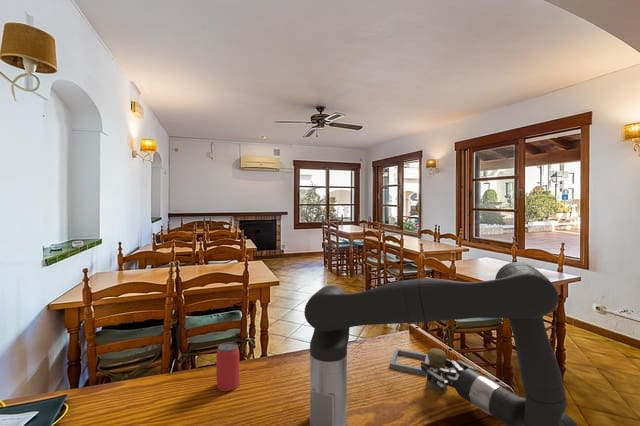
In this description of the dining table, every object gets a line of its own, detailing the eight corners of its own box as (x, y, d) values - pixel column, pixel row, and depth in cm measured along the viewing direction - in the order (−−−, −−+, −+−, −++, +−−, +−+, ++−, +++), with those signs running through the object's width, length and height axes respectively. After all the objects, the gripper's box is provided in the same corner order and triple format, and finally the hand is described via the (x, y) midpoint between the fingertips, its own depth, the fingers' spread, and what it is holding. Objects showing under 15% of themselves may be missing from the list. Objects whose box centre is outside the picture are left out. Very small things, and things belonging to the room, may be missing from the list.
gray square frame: (426, 375, 98) (426, 370, 98) (389, 367, 103) (389, 363, 103) (429, 358, 109) (429, 354, 109) (395, 352, 114) (396, 348, 113)
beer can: (211, 388, 92) (211, 348, 91) (227, 377, 97) (227, 339, 97) (228, 395, 89) (228, 353, 88) (244, 383, 94) (243, 344, 94)
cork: (449, 394, 89) (450, 356, 88) (427, 391, 90) (427, 354, 90) (445, 382, 95) (445, 346, 94) (424, 380, 96) (425, 344, 96)
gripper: (499, 370, 82) (448, 344, 97) (461, 384, 76) (413, 354, 91) (498, 398, 83) (447, 368, 97) (461, 414, 76) (412, 380, 91)
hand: (431, 362), depth 94 cm, fingers open, 7 cm apart
